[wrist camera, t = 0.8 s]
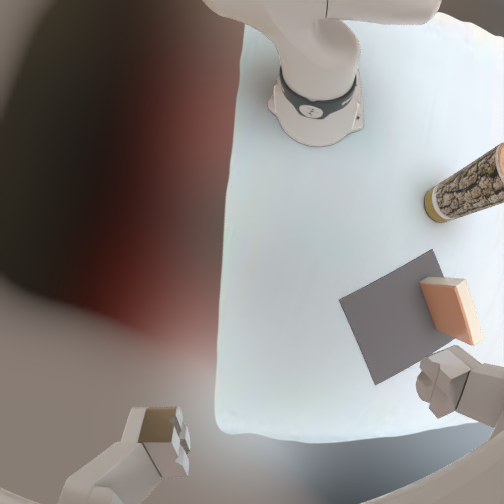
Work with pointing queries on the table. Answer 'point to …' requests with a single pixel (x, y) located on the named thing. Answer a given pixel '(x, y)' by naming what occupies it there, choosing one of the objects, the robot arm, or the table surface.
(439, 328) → the tile
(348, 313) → the mat
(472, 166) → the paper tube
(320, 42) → the robot arm
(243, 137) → the table surface
